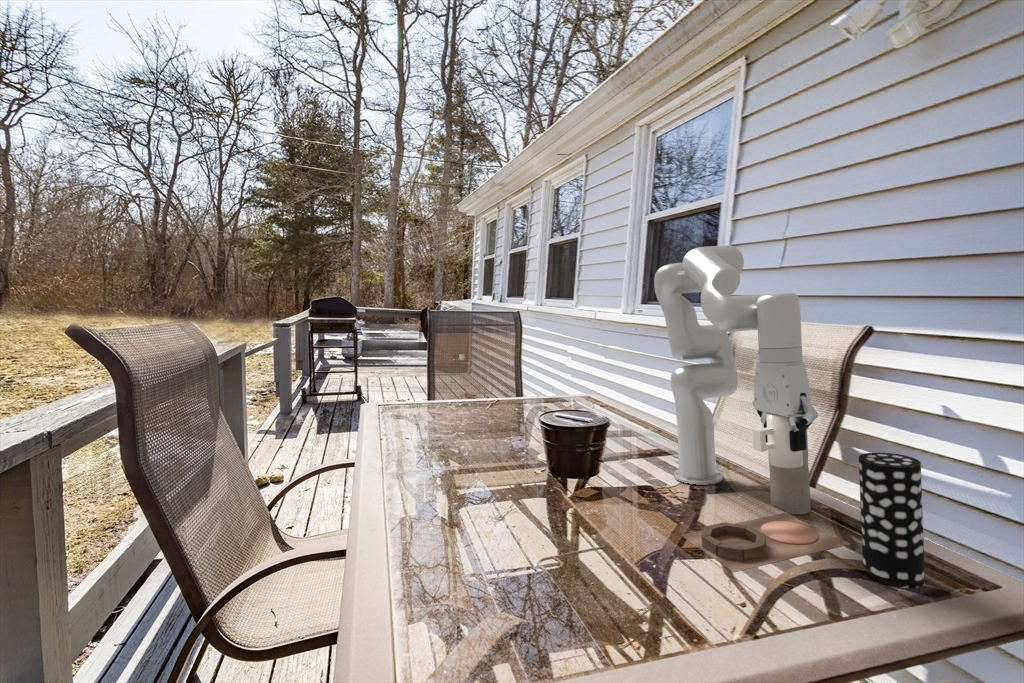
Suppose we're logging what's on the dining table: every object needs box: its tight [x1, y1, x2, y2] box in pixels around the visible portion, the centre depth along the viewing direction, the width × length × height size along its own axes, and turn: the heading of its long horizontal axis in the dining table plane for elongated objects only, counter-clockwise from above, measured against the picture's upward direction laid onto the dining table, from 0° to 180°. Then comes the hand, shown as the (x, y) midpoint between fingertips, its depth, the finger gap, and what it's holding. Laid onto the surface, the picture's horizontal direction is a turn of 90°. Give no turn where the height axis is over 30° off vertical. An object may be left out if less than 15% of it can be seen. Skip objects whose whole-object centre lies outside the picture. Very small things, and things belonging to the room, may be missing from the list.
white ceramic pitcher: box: [752, 413, 803, 468], centre depth 98 cm, size 11×6×10 cm, turn 105°
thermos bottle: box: [768, 414, 812, 515], centre depth 113 cm, size 8×8×28 cm
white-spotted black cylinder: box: [858, 452, 926, 590], centre depth 83 cm, size 8×8×20 cm
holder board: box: [680, 512, 851, 573], centre depth 97 cm, size 16×26×3 cm, turn 105°
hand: (784, 445), depth 98 cm, fingers closed on white ceramic pitcher, 6 cm apart
